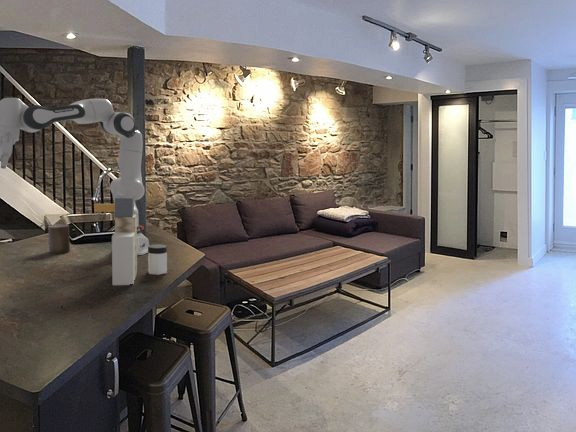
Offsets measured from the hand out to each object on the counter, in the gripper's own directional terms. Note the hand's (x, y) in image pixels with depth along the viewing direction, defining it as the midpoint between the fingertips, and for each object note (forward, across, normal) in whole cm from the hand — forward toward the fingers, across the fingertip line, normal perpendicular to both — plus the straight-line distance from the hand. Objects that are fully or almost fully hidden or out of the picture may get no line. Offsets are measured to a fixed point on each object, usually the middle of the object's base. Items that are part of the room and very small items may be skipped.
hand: (4, 167), depth 202 cm
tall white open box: (+45, -31, -45) cm, 71 cm away
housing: (+18, -24, -41) cm, 50 cm away
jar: (+41, -22, -62) cm, 78 cm away
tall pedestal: (+43, -21, -49) cm, 68 cm away
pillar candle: (+36, +36, -30) cm, 59 cm away
